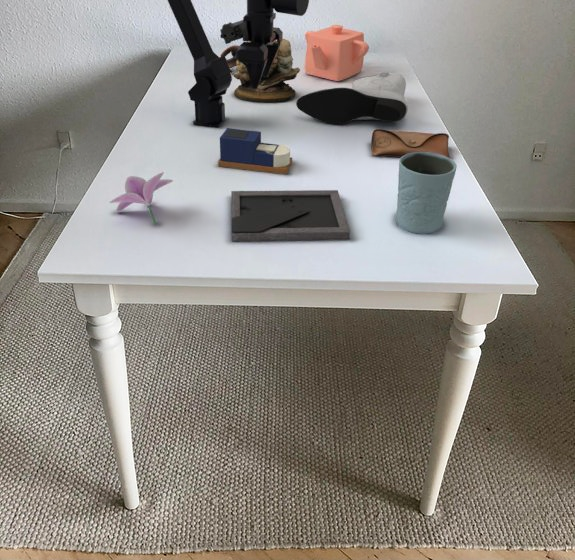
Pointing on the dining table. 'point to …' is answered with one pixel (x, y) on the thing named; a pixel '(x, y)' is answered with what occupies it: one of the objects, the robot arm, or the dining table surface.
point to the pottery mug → (233, 60)
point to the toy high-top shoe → (252, 152)
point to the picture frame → (288, 215)
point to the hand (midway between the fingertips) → (260, 82)
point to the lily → (140, 191)
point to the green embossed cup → (423, 191)
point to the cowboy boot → (358, 101)
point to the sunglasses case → (408, 143)
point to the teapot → (335, 52)
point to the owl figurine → (269, 79)
